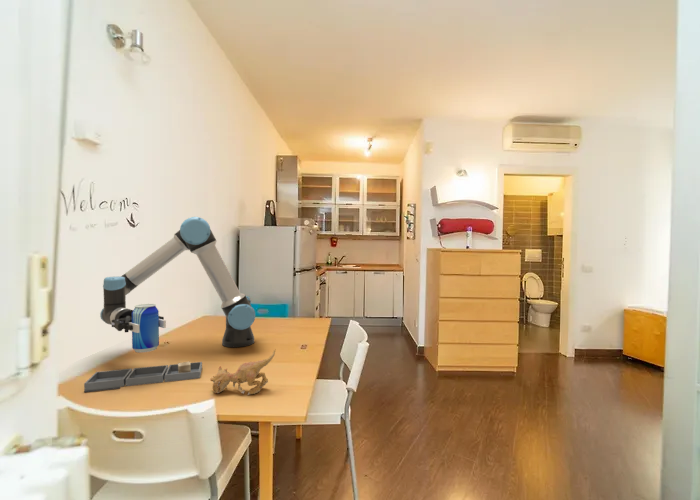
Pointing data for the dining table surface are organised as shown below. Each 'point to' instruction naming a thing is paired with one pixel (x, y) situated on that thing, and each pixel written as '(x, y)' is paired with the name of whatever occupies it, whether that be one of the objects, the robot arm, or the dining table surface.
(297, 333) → the dining table surface
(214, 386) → the toy
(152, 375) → the tray middle
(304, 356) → the dining table surface
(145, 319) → the beer can
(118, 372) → the tray
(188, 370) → the beige cube
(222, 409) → the dining table surface
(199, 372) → the tray
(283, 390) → the dining table surface
